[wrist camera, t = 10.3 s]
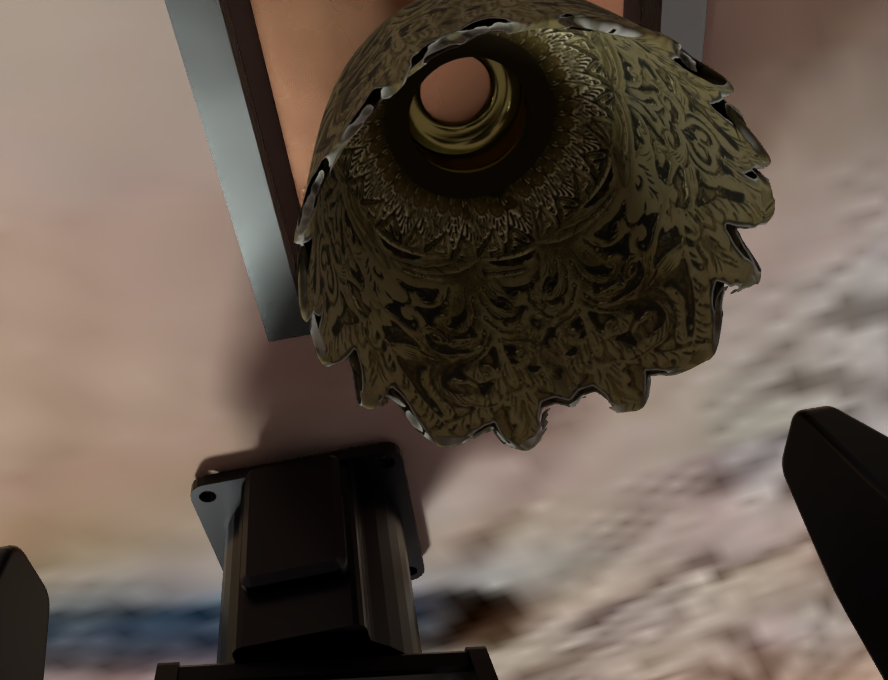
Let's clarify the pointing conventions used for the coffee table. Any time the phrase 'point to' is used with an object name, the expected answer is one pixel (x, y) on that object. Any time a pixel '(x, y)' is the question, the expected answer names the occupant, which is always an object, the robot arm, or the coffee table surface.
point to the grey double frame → (319, 108)
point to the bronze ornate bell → (524, 217)
